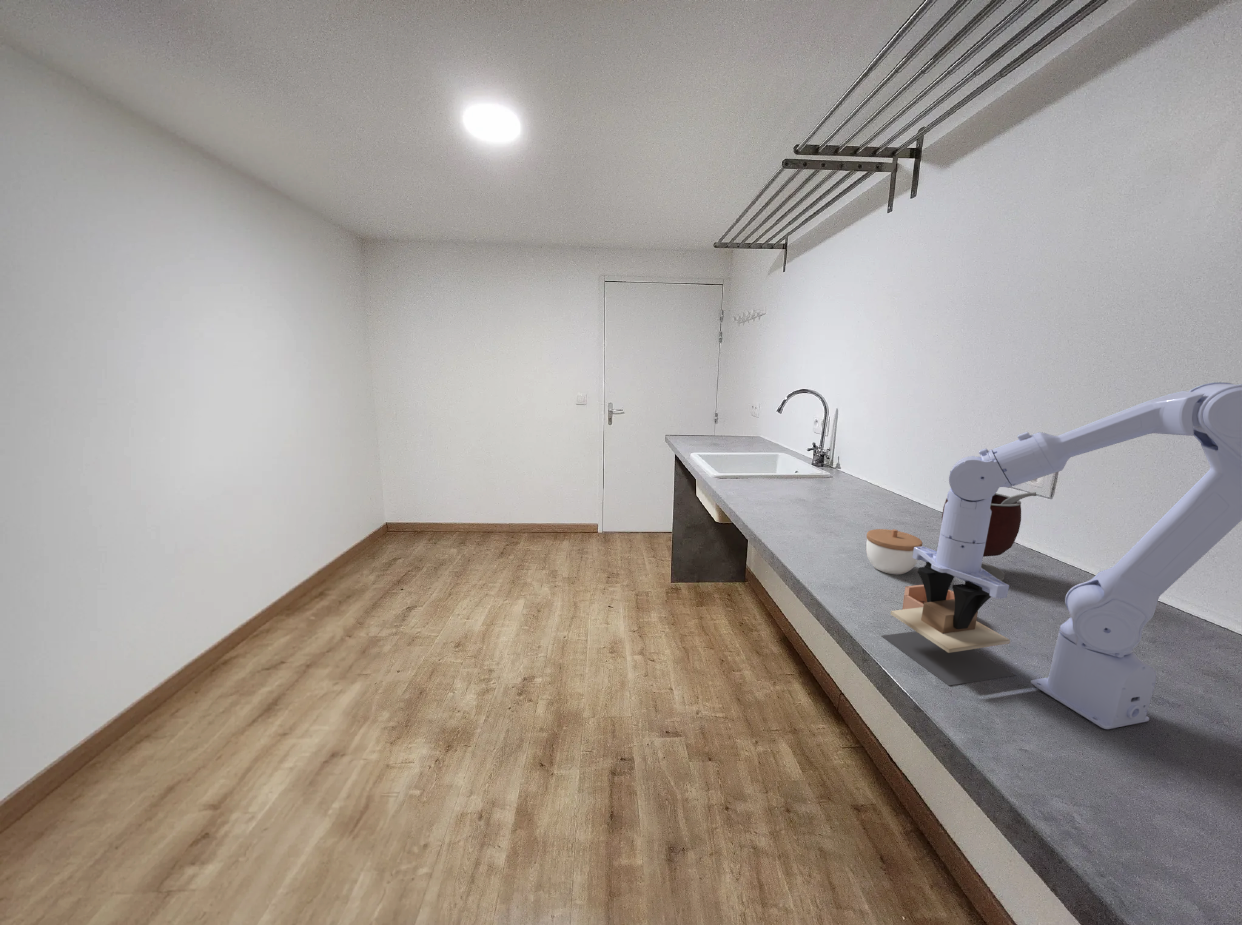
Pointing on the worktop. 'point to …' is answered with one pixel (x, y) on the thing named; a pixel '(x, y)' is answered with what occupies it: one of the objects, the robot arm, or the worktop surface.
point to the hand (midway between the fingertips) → (947, 619)
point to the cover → (948, 627)
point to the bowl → (918, 596)
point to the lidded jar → (891, 550)
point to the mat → (948, 660)
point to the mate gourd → (1002, 527)
